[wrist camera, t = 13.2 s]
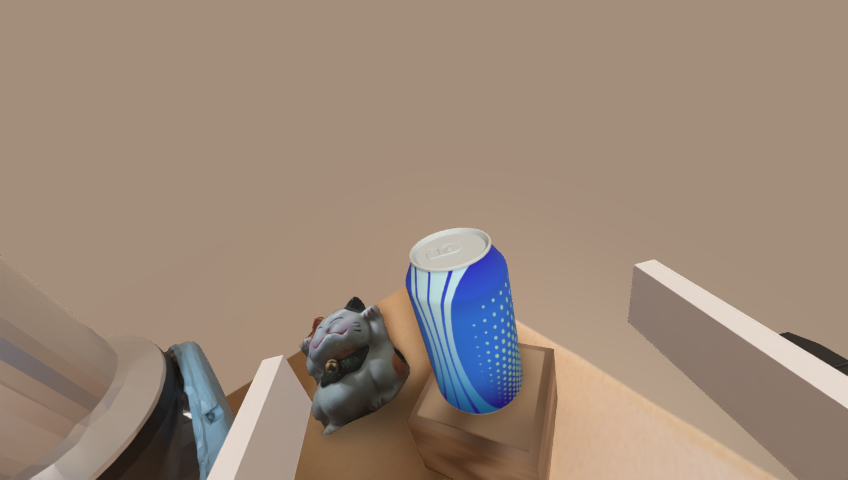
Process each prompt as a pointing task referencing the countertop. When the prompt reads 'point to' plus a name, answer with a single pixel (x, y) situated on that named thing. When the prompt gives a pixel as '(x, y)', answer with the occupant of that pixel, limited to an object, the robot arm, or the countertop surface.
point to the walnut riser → (492, 428)
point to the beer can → (466, 319)
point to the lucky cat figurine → (352, 365)
